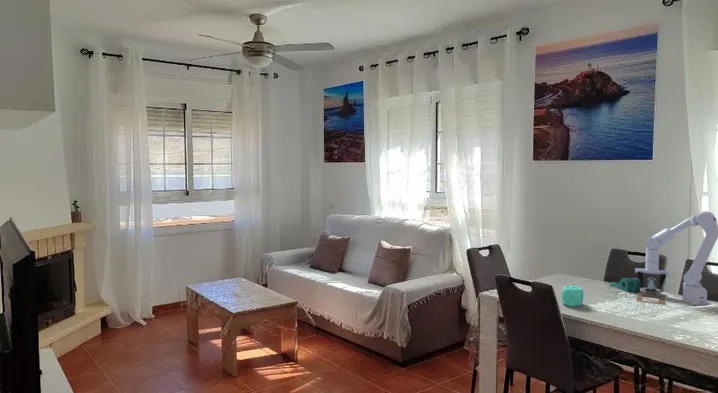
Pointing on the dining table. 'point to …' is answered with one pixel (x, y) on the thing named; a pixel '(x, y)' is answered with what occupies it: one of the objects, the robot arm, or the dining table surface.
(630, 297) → the dining table surface
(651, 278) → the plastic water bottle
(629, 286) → the bracket
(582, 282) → the dining table surface
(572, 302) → the decorative dice
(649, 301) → the housing plate
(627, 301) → the dining table surface
